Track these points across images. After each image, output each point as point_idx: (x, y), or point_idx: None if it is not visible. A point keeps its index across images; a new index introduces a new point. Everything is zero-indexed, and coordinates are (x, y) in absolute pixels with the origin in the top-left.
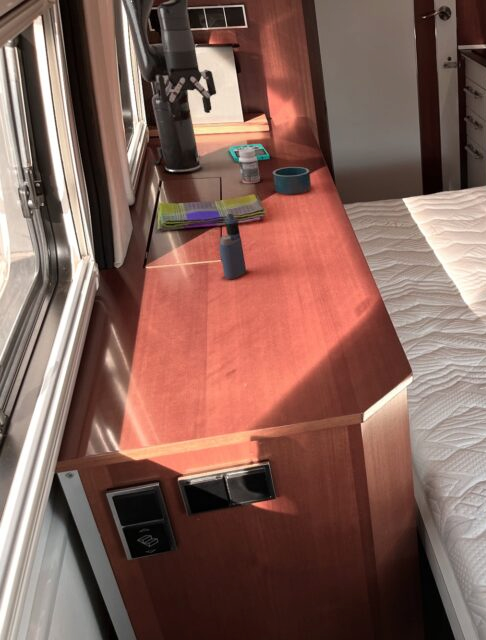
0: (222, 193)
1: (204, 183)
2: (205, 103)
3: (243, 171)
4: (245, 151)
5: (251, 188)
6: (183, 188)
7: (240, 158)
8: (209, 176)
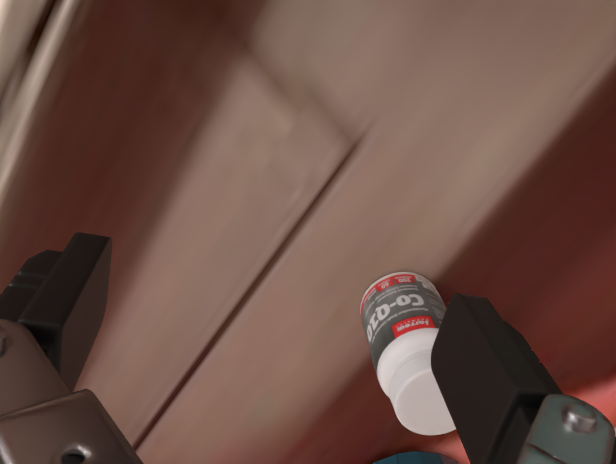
0: (204, 361)
1: (236, 176)
2: (462, 417)
3: (369, 346)
4: (415, 417)
5: (328, 382)
6: (113, 176)
7: (389, 369)
8: (333, 77)
